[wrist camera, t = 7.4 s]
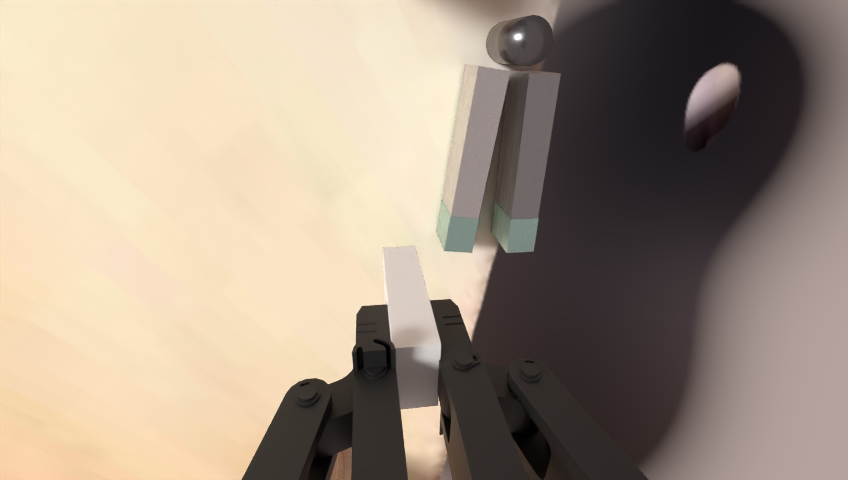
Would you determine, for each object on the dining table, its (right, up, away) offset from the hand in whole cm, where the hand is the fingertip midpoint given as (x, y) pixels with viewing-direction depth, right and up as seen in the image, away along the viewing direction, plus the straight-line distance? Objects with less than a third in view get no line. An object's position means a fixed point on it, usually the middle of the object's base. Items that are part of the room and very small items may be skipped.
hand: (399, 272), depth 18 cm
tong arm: (+5, +9, +16) cm, 19 cm away
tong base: (+8, +10, +16) cm, 21 cm away
